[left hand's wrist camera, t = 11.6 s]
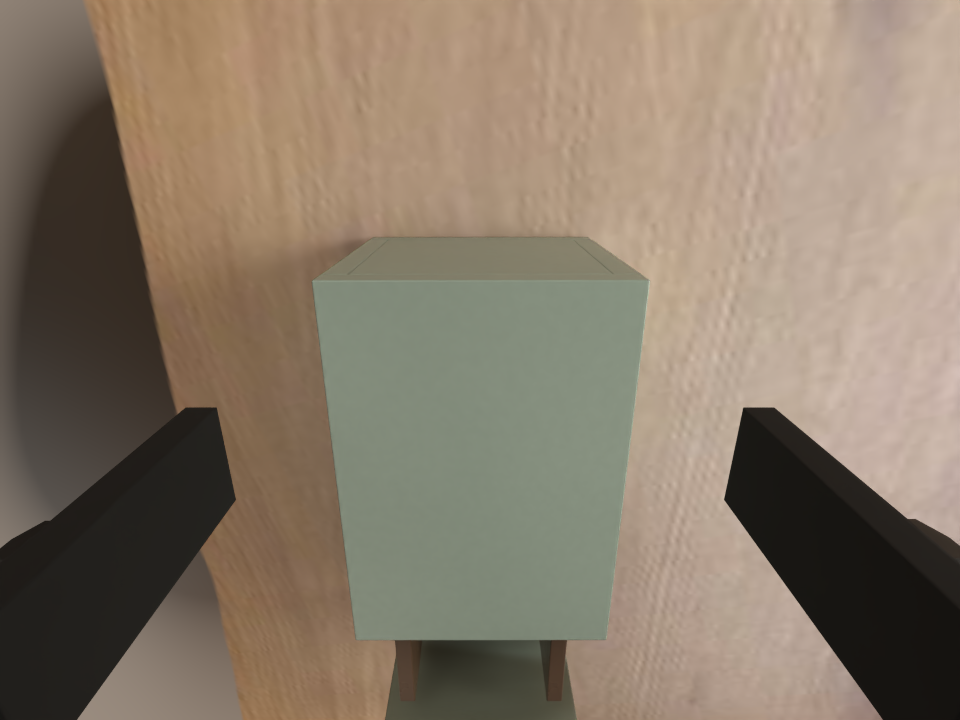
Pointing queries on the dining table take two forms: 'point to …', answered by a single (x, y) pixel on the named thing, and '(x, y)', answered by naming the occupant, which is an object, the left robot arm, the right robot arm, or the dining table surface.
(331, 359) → the sage green box
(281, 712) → the dining table surface
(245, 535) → the dining table surface
